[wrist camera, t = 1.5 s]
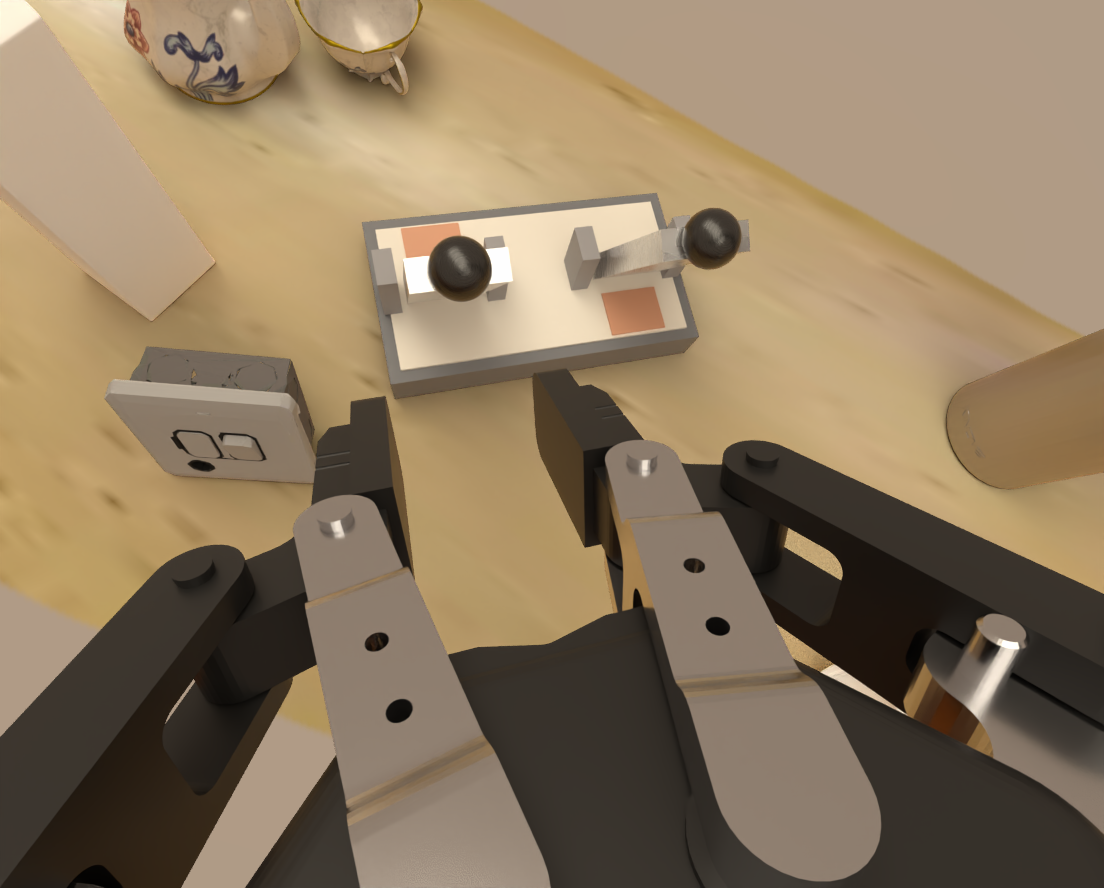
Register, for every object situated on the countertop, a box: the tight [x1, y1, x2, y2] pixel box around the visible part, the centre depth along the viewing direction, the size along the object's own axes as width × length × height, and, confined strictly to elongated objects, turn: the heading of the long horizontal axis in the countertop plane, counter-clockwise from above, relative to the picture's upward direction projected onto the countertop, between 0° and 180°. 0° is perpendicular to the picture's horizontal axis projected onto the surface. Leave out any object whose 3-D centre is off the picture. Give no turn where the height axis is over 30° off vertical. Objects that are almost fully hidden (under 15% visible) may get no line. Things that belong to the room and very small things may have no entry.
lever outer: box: [403, 235, 513, 304], centre depth 33 cm, size 5×3×14 cm, turn 103°
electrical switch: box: [104, 347, 316, 483], centre depth 36 cm, size 9×5×9 cm, turn 88°
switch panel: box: [362, 193, 699, 399], centre depth 42 cm, size 22×12×7 cm, turn 103°
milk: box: [0, 0, 215, 321], centre depth 31 cm, size 6×6×22 cm
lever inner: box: [593, 208, 750, 280], centre depth 36 cm, size 5×3×14 cm, turn 103°
